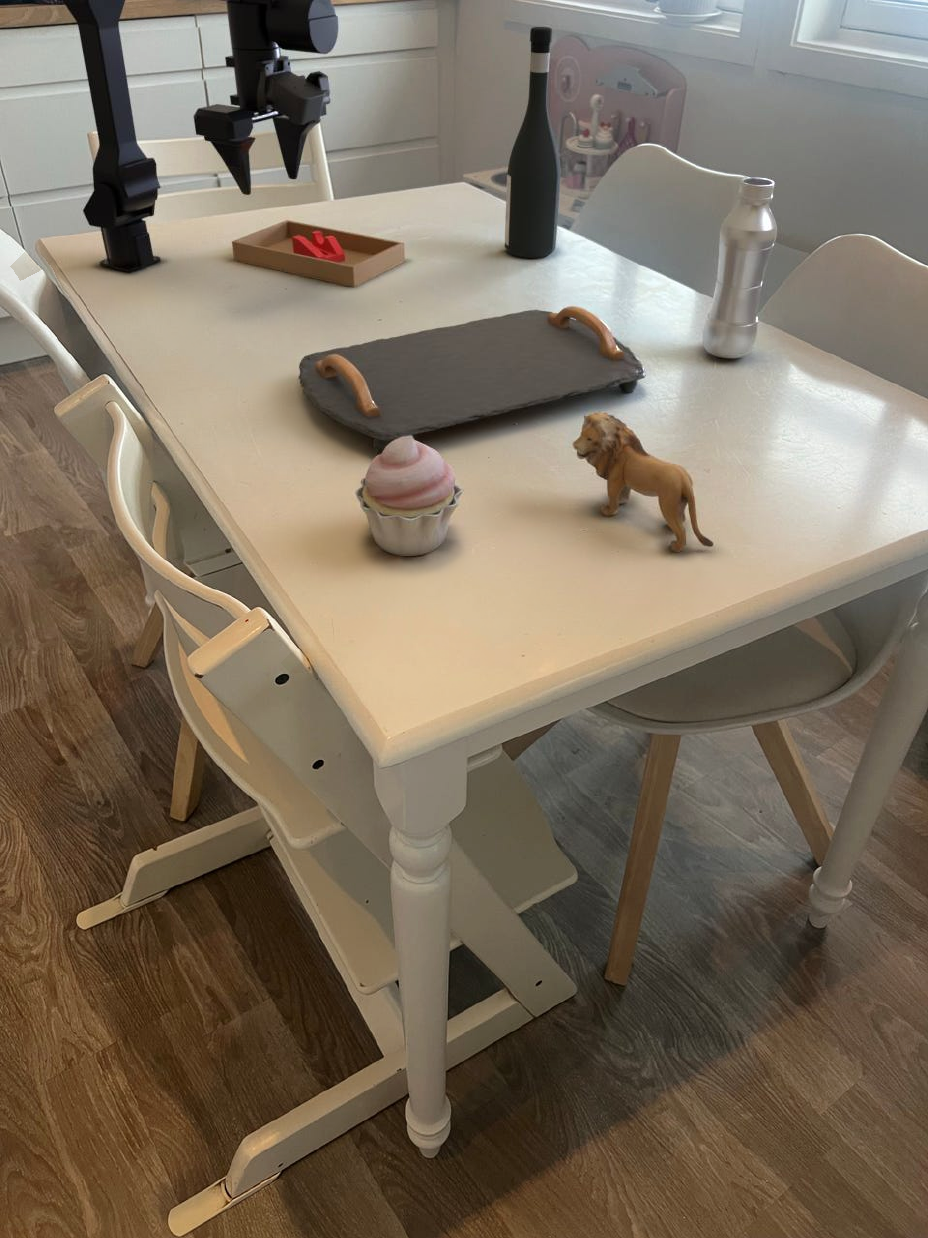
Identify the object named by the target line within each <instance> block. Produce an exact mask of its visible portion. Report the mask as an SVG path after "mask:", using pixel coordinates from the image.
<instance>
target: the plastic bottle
mask: <svg viewBox="0 0 928 1238" xmlns="http://www.w3.org/2000/svg"><path fill="white" fill-rule="evenodd" d="M774 188H775V181H774V180H773V179H772V180H771V179H769V178H764V177H746V178H743V179H742V180H741V182H740V188H739V192H738V194H737V199H738V200H739V202H738V203H737V205H736V206H735V207H734V208H733V209H732V210H731V211H730V212H729V214H727V216H726V218H725V219H724V220H723V223H722V225H721V227H720V229H719V244H718V245H719V247H718V266H717V272H716V275H717V277H716V283H715V288H714V292H713V296H712V300H711V304H710V308H709V312H708V315H707V316H706V319H705V322H704V325H703V329H702V345H703V347H704V349H705V351H706V352H707V353H708V354H710V355H712V356H715V357H717V358H718V357H719V358H723V359H738V358H743V357H745V356H747V355H748V354H749V353H750V352H751V351H752V349H753V347H754V345H755V342H756V339H757V336H758V312H759V304H760V296H761V290H762V286H763V281H764V278H765V274H766V269H767V267H768V263H769V260H770V257H771V254H772V251H773V248H774V246H775V243H776V239H777V236H778V227H777V222H776V219H775V217H774V214H773V211H772V210H771V208H770V203H771V202H772V201H773V198H774V195H773V194H774Z"/></svg>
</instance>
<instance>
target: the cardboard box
mask: <svg viewBox="0 0 928 1238" xmlns="http://www.w3.org/2000/svg"><path fill="white" fill-rule="evenodd" d="M315 231H320V232H322V236H323V238H324V237H327V236H334V237H335V238H336V240H337V242H338V243H339V245H340V247H341V248H342V250H343V252H344V253H345V261H343V262H339V263H338V262H333V261H328V260H323V259H319V258H314V257H309V256H304V255H300V254H295V253H294V252H293V242H292V237H294V236H298V235H300V236H302V237H305V238H306V239H307V240H309V241H310V242H311V243H312V234H311V232H315ZM231 247H232V253H233V255H232V256H233V261H235V262H238V263H239V262H240V263H244V264H247V265H248V264H249V265H252V266H258V267H262V268H266V269H272V270H276V271H279V272H284V273H288V274H294V275H298V276H302V277H306V278H311V279H316V280H320V281H324V282H325V281H326V282H329V283H334V284H339V285H342V286H346V287H351V288H355V287H358V286H359V285H361V284H364V283H366V282H368V281H370V280H372V279H373V278H376V277H377V276H380V275H381V274H384V273H385V272H388V271H390V270H392V269H394V268H396V267H397V266H399V265H401V264H403V263H405V262H406V258H405V254H406V253H405V242H401V241H397V240H390V239H386V238H381V237H376V236H370V235H365V234H359V233H355V232H351V231H345V230H340V229H335V228H331V227H325V226H319V225H314V224H309V223H304V222H299V221H294V220H288V219H286V220H284V221H281V222H279V223H276V224H273V225H271V226H268V227H265V228H263V229H261V230H258V231H255V232H253V233H250V234H247V235H245V236H243V237H240V238H238V239H235V240H232V241H231Z"/></svg>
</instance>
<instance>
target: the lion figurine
mask: <svg viewBox="0 0 928 1238" xmlns="http://www.w3.org/2000/svg"><path fill="white" fill-rule="evenodd" d="M583 419H584V420H583V424H582V426H581V432H580V435H579V437H578V438H577V439H575V440H574V441H573V442H572V447H573V449H574V450H575V451H576V457H577V458H578V459H579V460H584V459H585V461H586V462H587V464H589V465H590V466H592V467H593V468H595V474H596V475H597V476H598V477H599V478H601V479H603V480H604V481H606V490H607V497H608V500H609V501H608V503H609V505H604V506H602V507H601V513H602V515H603V516H609V517H610V516H613V515H615V514H617V513H618V511H619V509H620V504H626V503H627V502H629V500H630V495H631V491H632V490H633V491H634V492H636V493H638V494H640V495H641V496H644V497H649V498H650V497H651V498H653V497H654V498H655V497H656V498H657V497H658V498H657V499H658V500H657V501H658V505H659V509H660V512H661V514H662V518H663V519H664V521H665V522H666V524H667V526H668V527H669V528H670V529H671V531H672V533H673V534H674V536H675V540H674V539H673V540H671V541H670V544H669V549H670V550H671V551H672V552H675V553H679V552H682V551H683V550H684V549H685V547H686V545H687V533H686V527H685V526H684V523H685V522H686V519H687V518H686V513H685V512H686V508H687V507H688V514H689V519H690V524H691V529H692V531H693V534H694V535H695V537H696V539H697V540H698V542H699V543H700V544H701V545H702V546H703V547H708V548H712V547H714V542H713V541H712V540H710V539H709V538H708V537H707V536H705V535H704V534H702V533H701V532H700V529H699V525H698V520H697V513H696V512H697V509H696V498H695V494H694V489H693V488H694V487H693V486H694V483H693V482H694V481H693V479H692V477H691V475H690V473H689V472H688V471H687V470H686V468H685V467H683V466H681V465H680V464H676V463H671V462H667V461H665V460H662V459H660V458H657V457H655V456H653V455H652V454H650V453H648V452H647V451H646V450H645V449H644V447H643V445H642V443H641V441H640V438H639V437H638V436H637V434H636V433H635V432H634V430H632V429H630V428H629V427H628V425H627V424H626V423H624V422H622V421H621V419H619V418H616V417H615V416H614V414H613V415H611V414H609V413H607V412H603V411H598V412H597V411H596V412H593V413H588V414H585V415H583Z"/></svg>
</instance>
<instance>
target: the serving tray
mask: <svg viewBox="0 0 928 1238" xmlns="http://www.w3.org/2000/svg"><path fill="white" fill-rule="evenodd" d="M298 369H299V376H298V381H299V385H300V386H301V388H302V389H303V393H304V396H305V397H306V398H307V399H308V400H309V401H310V402H311V403H312V405H314V406H315V407H316V408H317V409H318V410H319V411H320V412H321V413H323V414H325V415H327V416H328V418H330V419H332V420H333V421H336V422H338V423H339V424H342V425H344V426H345V427H347V428H349V429H351V430H354V431H356V432H359V433H361V434H364V435H366V436H369V437H370V438H373V443H372V444H373V448H374V449H375V451H376V452H377V454H378V455H380V454H382V452H383V450H384V449H385V447H386V446H387V445H388V444H389V443H391V442H392V441H394V440H396V439H398V438H401V437H403V436H404V437H405V436H415V435H418V434H424V433H427V432H431V431H437V430H439V429H440V430H441V429H444V428H448V427H452V426H456V425H460V424H465V423H468V422H469V423H470V422H473V421H476V420H479V419H484V418H489V417H492V416H497V415H502V414H505V413H509V412H513V411H516V410H521V409H527V408H529V407H533V406H538V405H542V404H545V403H549V402H552V401H558V400H562V399H565V398H571V397H574V396H577V395H582V394H585V393H589V392H595V391H598V390H602V389H606V388H610V387H614V386H618V388H619V390H620V392H621V393H623V394H631V393H633V392H634V390H635V389H636V388H637V385H638V381H639V380H641V379H644V378H646V376H647V374H646V370H645V368H644V365H643V363H642V362H641V361H640V359H638V357H637V356H636V354H635V353H634V352H633V351H632V350H631V348H629V347H627V346H625V345H624V344H623V343H622V342H620V341H619V340H618V339H617V338H616V337H615V336H614V335H613V333H612V331H611V329H610V327H609V326H608V325H607V323H606V322H605V321H603V320H602V319H601V318H600V317H598V316H597V315H595V313H592V312H590V311H589V310H587V309H585V308H583V307H581V306H575V305H574V306H573V305H571V306H570V305H569V306H567V307H563V308H562V309H561V310H559V311H558V313H557V312H552V311H547V310H539V309H531V310H530V309H529V310H524V311H521V312H520V311H519V312H514V313H508V314H504V315H499V316H493V317H488V318H482V319H477V320H472V321H468V322H465V323H461V324H455V325H451V326H444V327H443V326H442V327H436V328H431V329H425V330H420V331H417V332H412V333H407V334H403V335H399V336H392V337H388V338H380V339H376V340H372V341H368V342H364V343H361V344H354V345H350V346H345V347H338V348H333V349H329V350H324V351H318V352H314V353H310V354H307V355H305V356H303V357H302V358H301V360H300V362H299V364H298Z"/></svg>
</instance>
